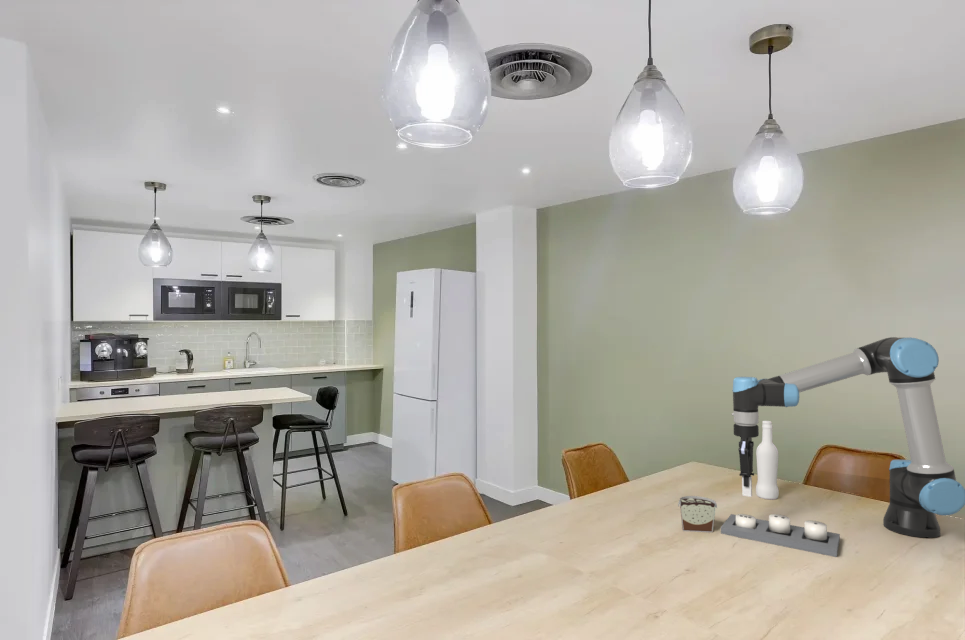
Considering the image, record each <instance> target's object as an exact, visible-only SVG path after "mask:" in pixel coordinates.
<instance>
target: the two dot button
mask: <svg viewBox="0 0 965 640" xmlns="http://www.w3.org/2000/svg"><path fill="white" fill-rule="evenodd" d="M768 521H769V529H770V530H771V531H774V532H773V533H775V532H777V533H776V534H780V533H790V525H791V518H790V517H789V516H786V515H783V514H777V513H773V514H769V515H768Z"/></svg>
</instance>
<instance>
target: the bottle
mask: <svg viewBox="0 0 965 640" xmlns="http://www.w3.org/2000/svg"><path fill="white" fill-rule="evenodd" d="M761 428H762V430H761V431H762V434H761V435H762V437H761V442H759V444H758V446H757V447H756V450H755V454H756V470H757V471H756V472H757V482H756V485H755V495H756V497H758V498H760V499H762V500H763V499H764V500H770V501H771V500H778V498H779V492H780V491H779V487H778V471H779V470H778V469H779V468H778V467H779V457H780V456H779V450H778V448H777V446H776V445H775V444H774V442H773V437H774V436H773V428H774V427H773V422H772V421H771V420H762V425H761Z"/></svg>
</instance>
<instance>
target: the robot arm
mask: <svg viewBox="0 0 965 640" xmlns="http://www.w3.org/2000/svg"><path fill="white" fill-rule="evenodd" d="M938 366H939V354H938V352H937V350H936V349H935V347H934V346H933V345H931V344H930V343H929V342H927V341H925V340H923V339H919V338H917V337H916V338H915V337H910V336H909V337H896V336H895V337H894V336H893V337H892V336H891V337H886V338H882V339H879V340H876V341H873V342H871V343H868V344H865V345H863V346H860V347H857V348H856V347H855V349H854V350H853V352H850V353H848V354H844V355H841V356H838V357H834V358H831V359H828V360H825V361H822V362H821V361H820V362H819V363H815V364H811V365H808V366H805V367H802V368H799V369H796V370H793V371H789V372H787V373H786V372H785V373H783V374H779V375H776V376H772V377H770V378H761V379H758V378H757V377H756V376H755V377H753V376H737V377H734V379H733V381H732V401H733V402H732V404H733V405H732V406H733V412H731V416H733V423H734V424H733V435H734V436H736V437H739V438H740V441H738V454H739V467H740V469H739V470H740V473H739V474H738V475H739V476H740V477H741V491H742V493H741V495H742V496H743V497H751V498H752V497H753V483H752V482H753V476H755V473H754V472H753V471H754V469H753V467H754V446H755V443H754V441H753V438H758V437H759V436H760V435H759V432H760V431H759V428H760V427H759V425H758V424H759V422H760V421H759V419H760V418H759V407H778V408H779V407H782V408H783V407H785V408H788V407H796V406H798V405H799V403H800V393H802V392H806V391H809V390H812V389H813V390H814V389H816V388H821V387H823V386H827V385H828V384H829V385H830V384H832V383H836V382H839V381H843V380H847V379H850V378H853V377H856V376H859V375H865V376H871V375H876V374H880V373H887V377H888V382H889V384H891V385H892V386H893V387H895V388H896V393H897V397H898V398H897V399H898V401H899V402H898V404H899V407H900V411H901V412H900V413H901V417H902V422H903V427H904V433H905V436H906V441H907V447H908V452H909V456H910V459H892V460H891V461H890V464H889V468H888V470H889V503H888V504H889V505H888V506H887V509H886V511H885V514H884V516H883V520H882V521H883V524H882V525H883V527H884V528H886V529H888V530H889V531H892V532H895V533H898V534H901V535H904V536H909V537H914V536H915V537H914V538H922V537H929V538H928V539H930V538H931V537H935V538H939V537H940V536H941V526H940V524H939V521H938V518H937V516H936V515H939V516H951V515H955V514H957V513H958V512H960V511H961V510H962V508H964V507H965V488H964V486H963V485H962V484H961V483H960V482H959V481H957V477H956V473H955V468H954V466H953V465H951V464H950V463H948V462H947V461H946V456H945V451H944V446H943V442H942V437H941V431H940V426H939V420H938V416H937V412H936V407H935V402H934V396H933V393H932V386H931V384H932V383H934V381H935V380H936V376H935V371H936V368H938ZM938 536H939V537H938ZM931 539H932V538H931Z"/></svg>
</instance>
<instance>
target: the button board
mask: <svg viewBox="0 0 965 640" xmlns="http://www.w3.org/2000/svg"><path fill="white" fill-rule="evenodd" d="M736 515H737V514H733V513H731V514H730V515H729V516H728V517H727V519H726V520H725V521H724V522H723V524H722V525H721V526H720V534H722V535H726V536H732V537H736V538H741V539H745V540H746V539H747V540H751V541H755V542H761V543H766V544H771V545H775V546H781V547H786V548H789V549H790V548H791V549H796V550H800V551H806V552H810V553H815V554H818V555H819V554H820V555H824V556H825V555H826V556H830V557H835V558H837V556H838V552H839V547H840V539H841V537H840V536H841V534H840V533H836V532H832V531H831V532H830V531H827V539H826V540H813V539H810V538H807V537H806V536H805V535H804V526H797V525H793V524H790V533H777V532H774V531H771V530H770V529H769V520H765V519H760V518H756V529H750V528H745V527H740V526H736Z"/></svg>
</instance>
